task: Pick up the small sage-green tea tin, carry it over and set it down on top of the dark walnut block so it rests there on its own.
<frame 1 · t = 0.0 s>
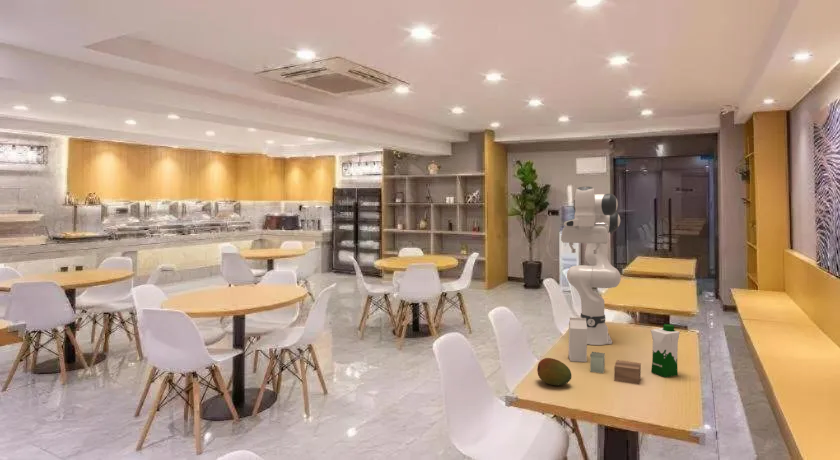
hand: (584, 253, 219), 48 cm above the table, fingers open, 8 cm apart
tea tin: (597, 370, 204), on the table
soya milk: (664, 374, 200), on the table
milk carton: (577, 360, 219), on the table
walnut block: (627, 379, 194), on the table
fruit: (554, 384, 188), on the table
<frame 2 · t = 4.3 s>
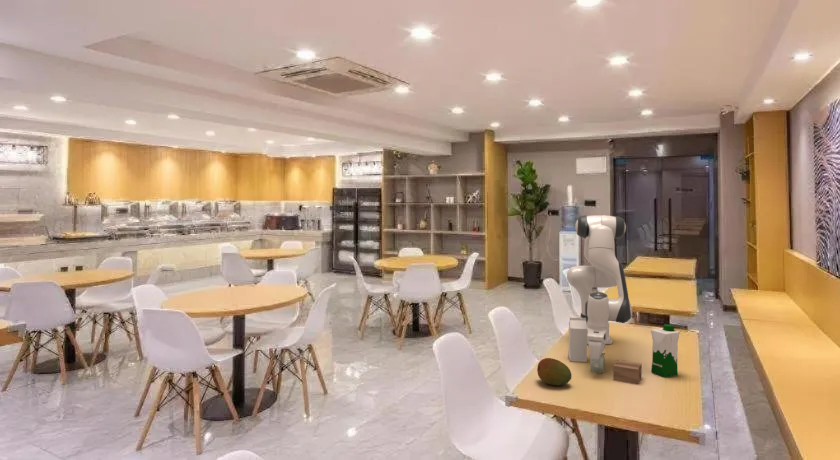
hand: (597, 364, 204), 3 cm above the table, fingers closed on tea tin, 5 cm apart
tea tin: (597, 370, 204), on the table, touching gripper
everything else where it was.
when the fingers open (10 cm above the table, at t = 9.1 s): tea tin drops 1 cm, resting on walnut block.
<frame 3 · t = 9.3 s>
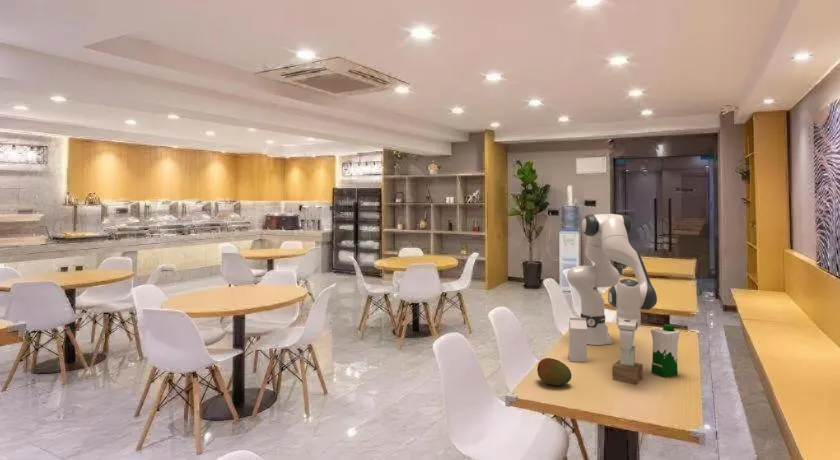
hand: (627, 355, 194), 10 cm above the table, fingers open, 7 cm apart
tea tin: (627, 364, 194), point 6 cm above the table, touching walnut block
walnut block: (627, 379, 194), on the table, touching tea tin
everything else where it was.
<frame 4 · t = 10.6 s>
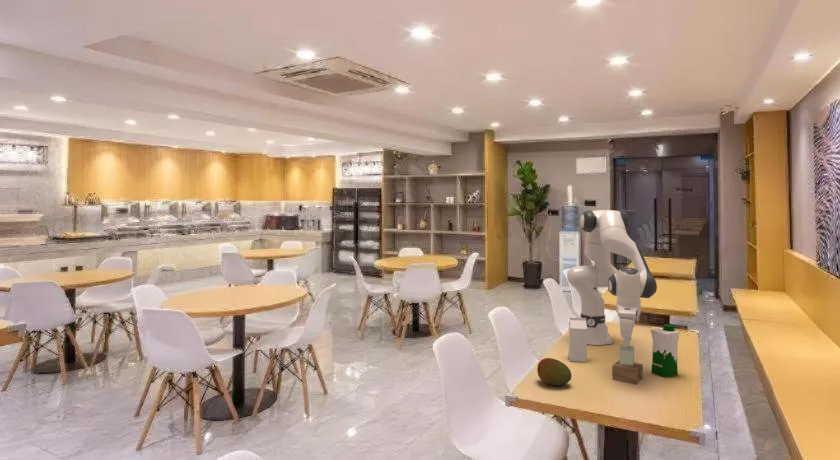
hand: (627, 343, 194), 14 cm above the table, fingers open, 8 cm apart
nothing on the table moved.
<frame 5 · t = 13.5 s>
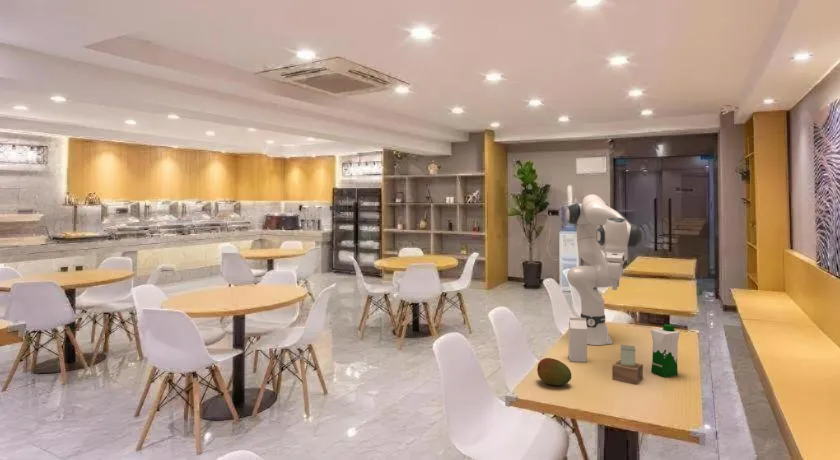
hand: (615, 288, 207), 34 cm above the table, fingers open, 8 cm apart
nothing on the table moved.
at the end: tea tin 0.2 cm off-centre on the walnut block, point 6.0 cm above the walnut block's base; tea tin tilted 0°; the gripper is holding nothing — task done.
